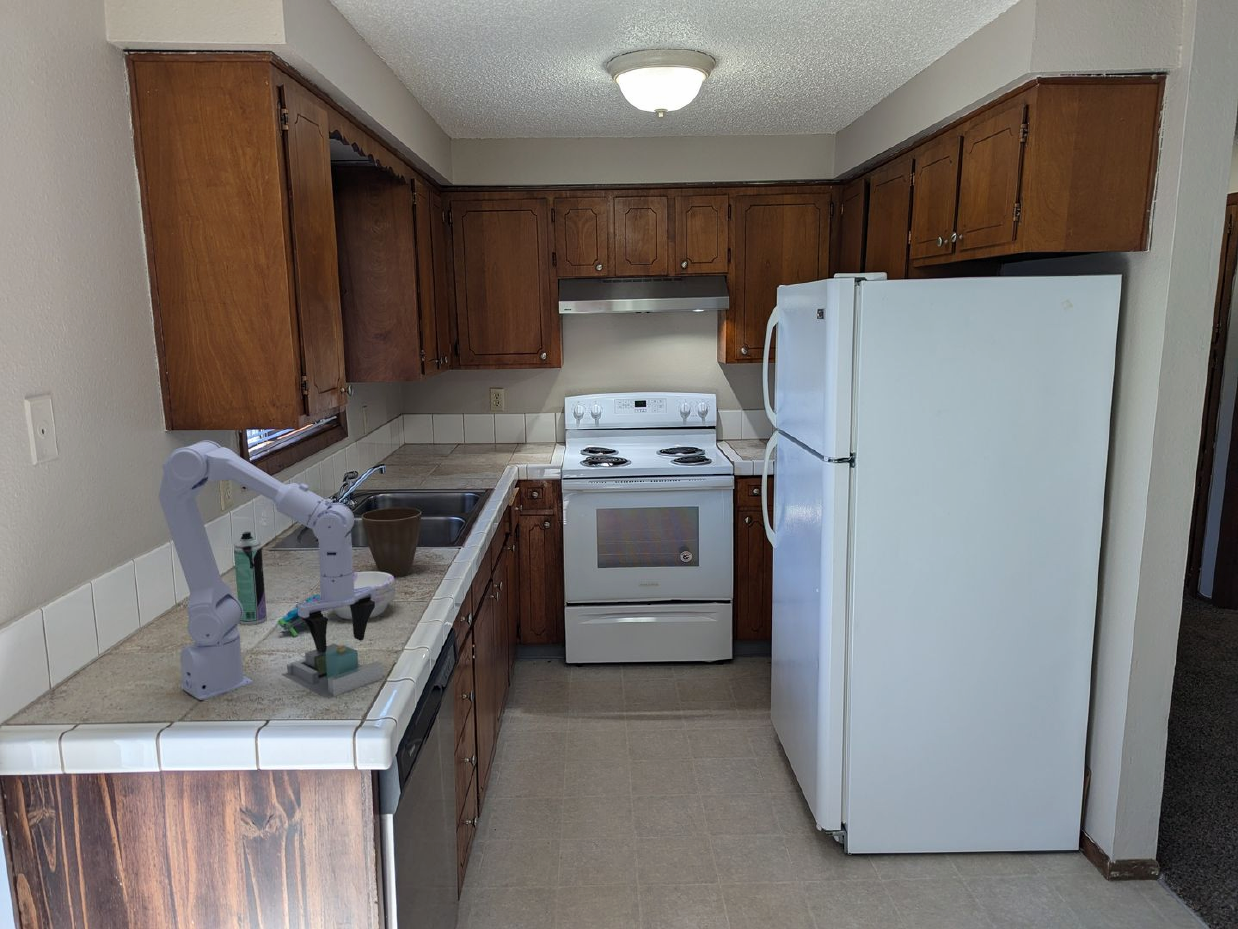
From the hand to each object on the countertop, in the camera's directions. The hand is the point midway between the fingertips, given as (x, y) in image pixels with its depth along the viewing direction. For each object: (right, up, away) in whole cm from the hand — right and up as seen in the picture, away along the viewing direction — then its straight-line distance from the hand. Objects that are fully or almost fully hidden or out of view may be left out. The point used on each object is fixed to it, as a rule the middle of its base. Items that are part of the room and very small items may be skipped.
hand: (340, 645), depth 153 cm
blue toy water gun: (-18, -3, +28) cm, 33 cm away
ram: (-4, -6, +5) cm, 9 cm away
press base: (-2, -7, +3) cm, 8 cm away
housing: (0, -7, +1) cm, 7 cm away
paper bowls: (-8, -1, +37) cm, 38 cm away
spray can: (-30, -2, +33) cm, 44 cm away
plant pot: (-8, +4, +67) cm, 68 cm away
